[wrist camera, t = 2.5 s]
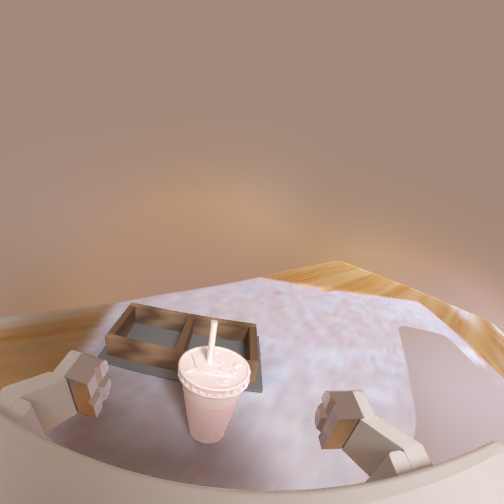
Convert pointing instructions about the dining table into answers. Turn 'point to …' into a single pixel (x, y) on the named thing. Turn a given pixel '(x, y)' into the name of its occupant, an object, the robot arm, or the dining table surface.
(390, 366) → the dining table surface
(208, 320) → the tray
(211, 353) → the smoothie
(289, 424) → the dining table surface
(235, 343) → the mat
